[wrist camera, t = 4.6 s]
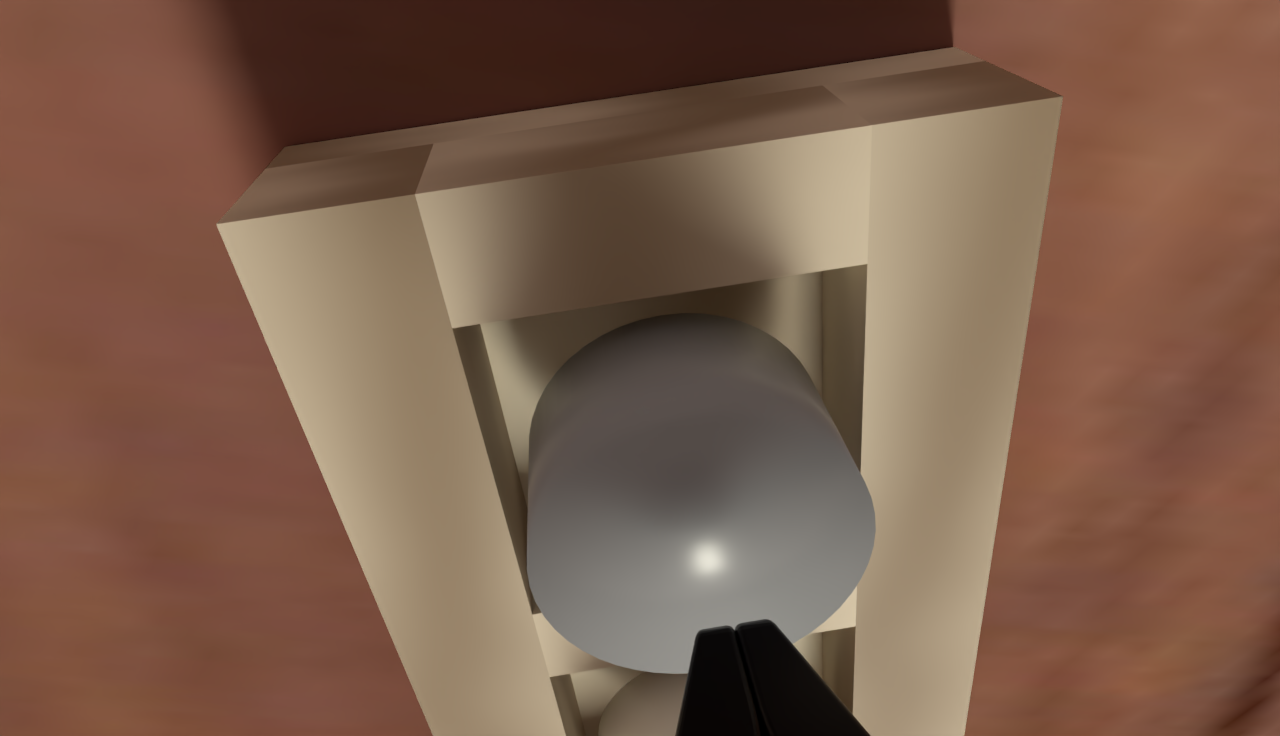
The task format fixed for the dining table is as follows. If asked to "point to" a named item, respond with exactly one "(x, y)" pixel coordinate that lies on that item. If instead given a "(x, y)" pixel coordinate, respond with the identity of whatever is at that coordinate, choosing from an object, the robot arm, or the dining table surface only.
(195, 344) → the dining table surface
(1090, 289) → the dining table surface
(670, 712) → the button cream
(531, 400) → the wooden compartment tray
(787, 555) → the button slate
